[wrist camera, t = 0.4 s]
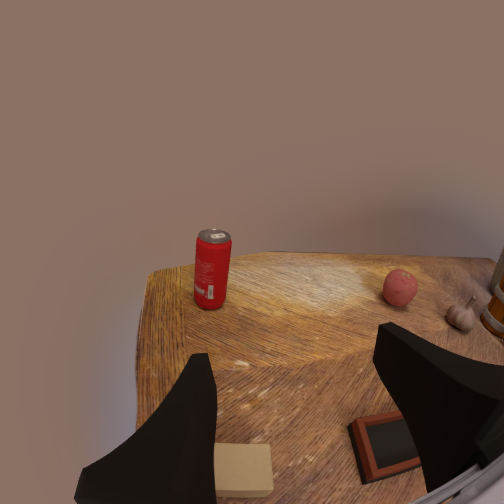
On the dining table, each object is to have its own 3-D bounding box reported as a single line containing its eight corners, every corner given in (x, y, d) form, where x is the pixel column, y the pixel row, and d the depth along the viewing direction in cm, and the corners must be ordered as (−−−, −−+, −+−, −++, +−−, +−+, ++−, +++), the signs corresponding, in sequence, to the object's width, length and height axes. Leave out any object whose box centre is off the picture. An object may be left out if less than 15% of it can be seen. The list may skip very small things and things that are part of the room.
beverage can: (189, 295, 46) (191, 230, 41) (217, 289, 49) (223, 226, 44) (200, 314, 43) (204, 245, 37) (230, 307, 45) (238, 241, 40)
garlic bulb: (473, 337, 43) (491, 307, 39) (450, 334, 44) (469, 302, 40) (461, 316, 50) (477, 288, 46) (439, 312, 51) (455, 282, 47)
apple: (406, 318, 48) (423, 284, 44) (374, 304, 51) (389, 270, 47) (409, 301, 54) (423, 270, 50) (380, 288, 57) (393, 257, 53)
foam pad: (265, 497, 19) (274, 489, 17) (181, 493, 18) (178, 485, 16) (262, 456, 23) (269, 443, 21) (184, 452, 22) (182, 439, 20)
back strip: (526, 406, 24) (534, 398, 23) (362, 485, 20) (373, 478, 18) (509, 378, 31) (516, 369, 30) (346, 426, 27) (355, 416, 26)
